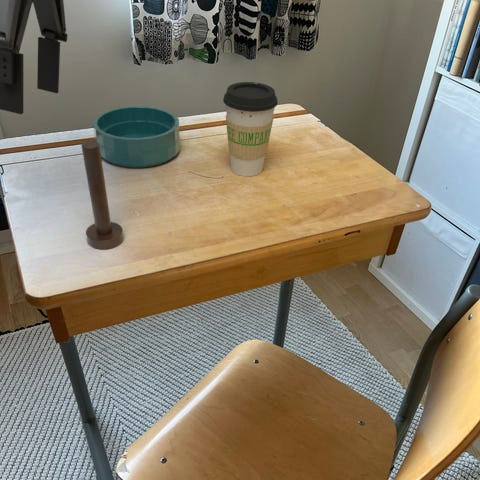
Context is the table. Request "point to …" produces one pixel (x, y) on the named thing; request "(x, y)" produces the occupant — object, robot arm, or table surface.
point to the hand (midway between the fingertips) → (30, 100)
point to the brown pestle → (99, 202)
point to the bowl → (137, 136)
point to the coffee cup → (249, 125)
